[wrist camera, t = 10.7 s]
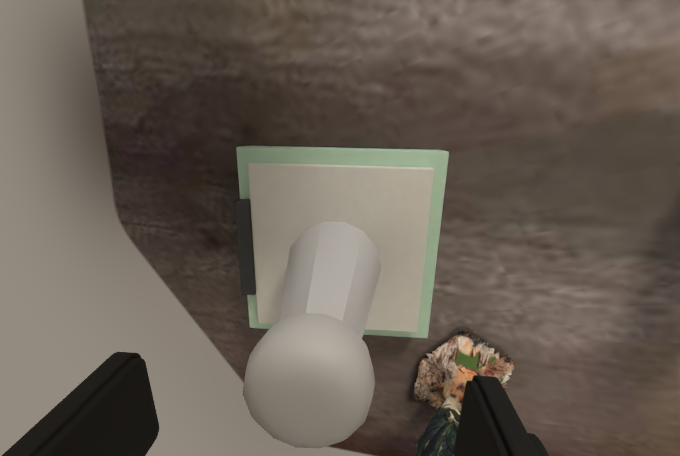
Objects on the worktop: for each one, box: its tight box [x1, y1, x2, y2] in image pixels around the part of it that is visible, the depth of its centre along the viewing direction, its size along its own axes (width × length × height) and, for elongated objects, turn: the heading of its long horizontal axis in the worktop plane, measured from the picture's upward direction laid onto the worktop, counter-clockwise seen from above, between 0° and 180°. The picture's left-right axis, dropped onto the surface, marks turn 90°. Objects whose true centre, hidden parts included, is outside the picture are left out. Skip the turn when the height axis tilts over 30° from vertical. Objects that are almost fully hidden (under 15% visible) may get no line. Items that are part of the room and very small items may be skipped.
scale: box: [235, 146, 449, 338], centre depth 23 cm, size 14×14×3 cm
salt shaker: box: [243, 222, 381, 448], centre depth 16 cm, size 6×6×13 cm
